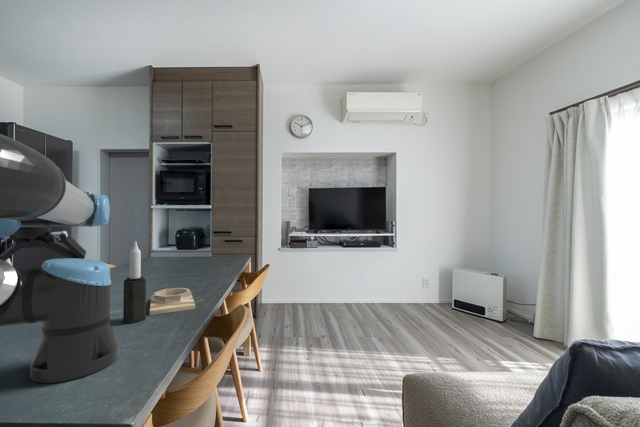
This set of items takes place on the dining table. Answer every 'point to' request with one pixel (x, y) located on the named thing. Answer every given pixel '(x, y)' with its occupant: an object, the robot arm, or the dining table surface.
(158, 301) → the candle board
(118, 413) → the dining table surface
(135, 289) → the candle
